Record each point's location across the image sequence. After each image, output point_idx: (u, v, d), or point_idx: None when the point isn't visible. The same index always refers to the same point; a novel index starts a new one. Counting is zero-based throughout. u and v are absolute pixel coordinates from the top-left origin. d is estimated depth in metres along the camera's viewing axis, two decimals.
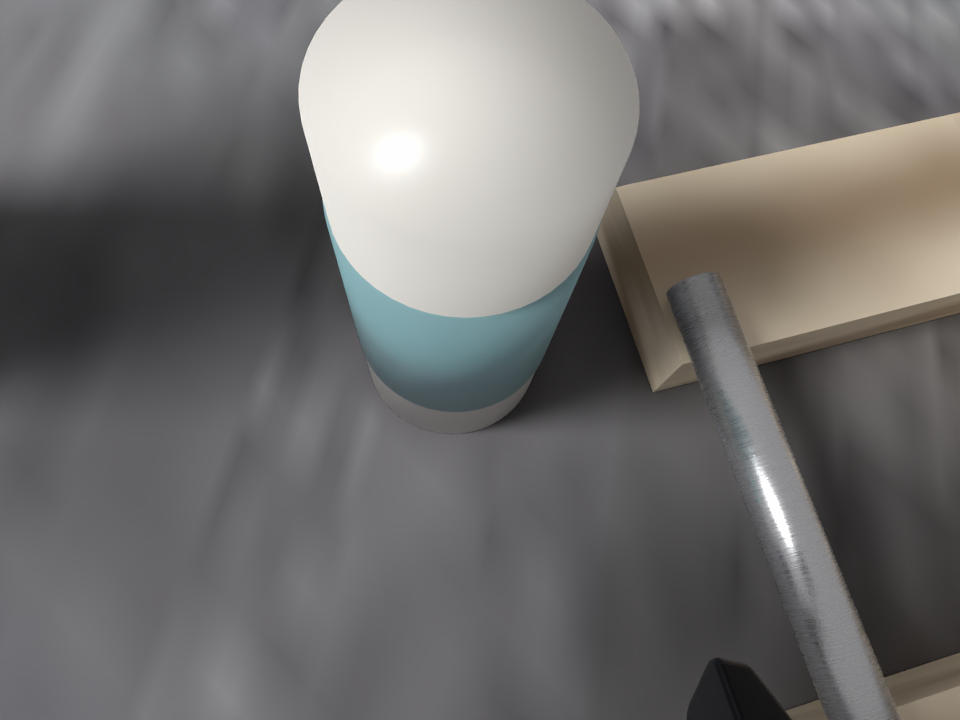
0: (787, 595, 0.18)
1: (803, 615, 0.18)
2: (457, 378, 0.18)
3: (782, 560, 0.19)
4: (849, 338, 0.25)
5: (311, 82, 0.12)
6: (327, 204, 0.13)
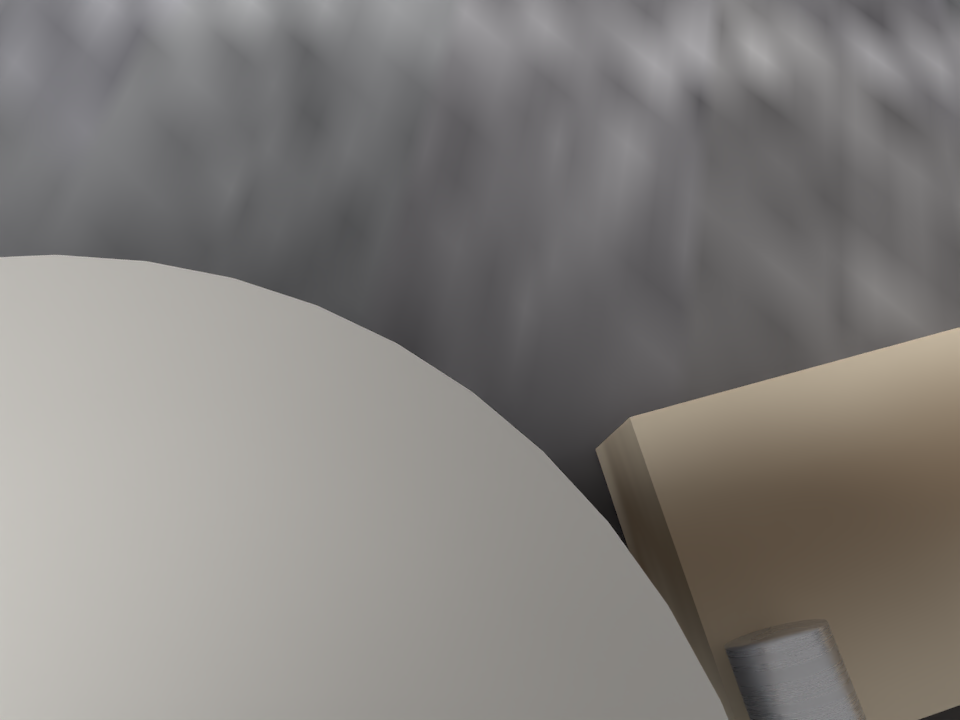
0: None
1: None
2: None
3: None
4: None
5: None
6: None
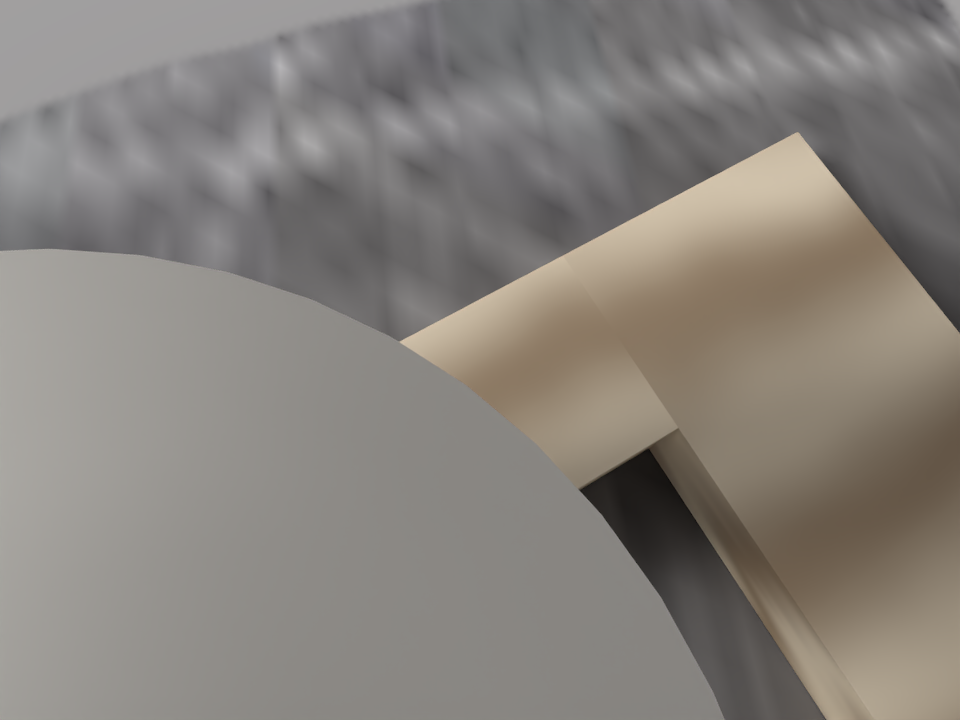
0: None
1: None
2: None
3: None
4: None
5: None
6: None
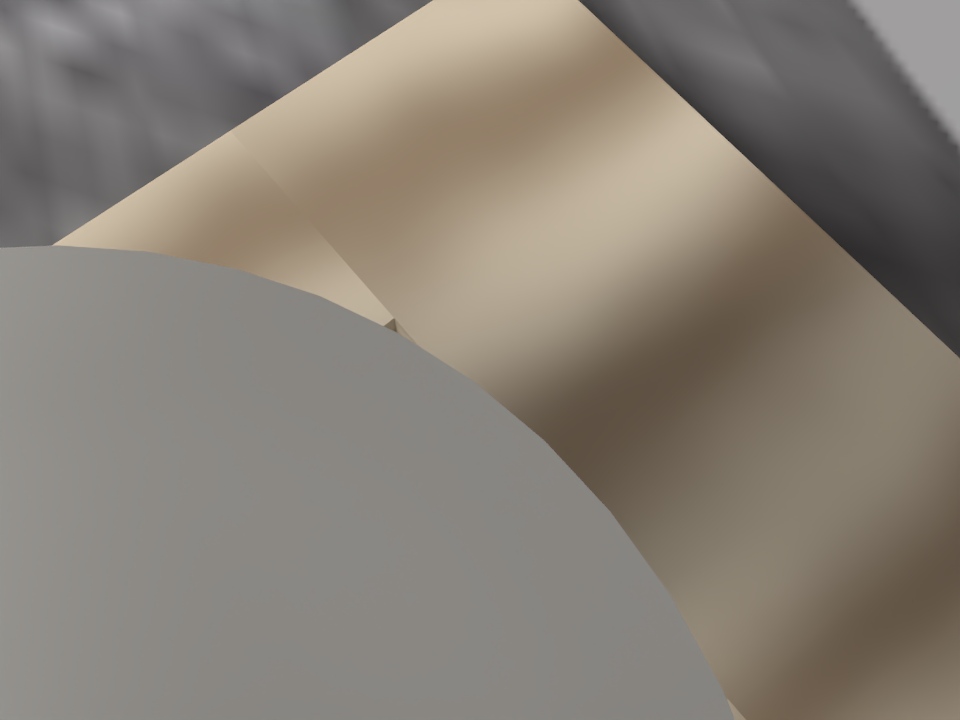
0: None
1: None
2: None
3: None
4: None
5: None
6: None
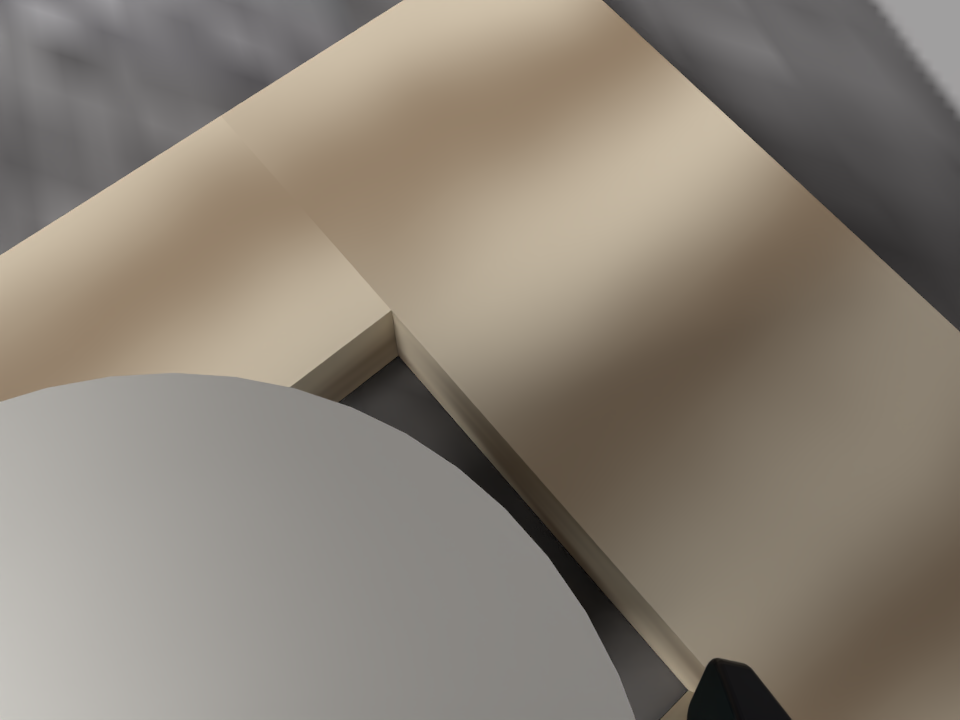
0: None
1: None
2: None
3: None
4: None
5: None
6: None
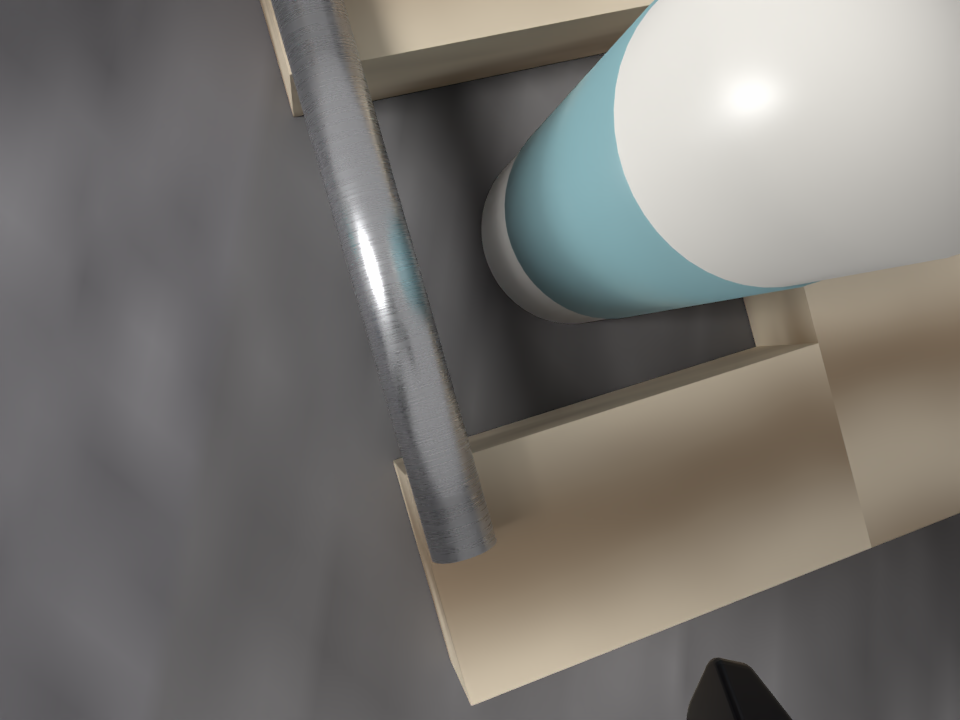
0: (370, 339, 0.17)
1: (382, 360, 0.17)
2: (614, 296, 0.16)
3: (365, 302, 0.17)
4: (528, 62, 0.22)
5: None
6: (655, 89, 0.10)
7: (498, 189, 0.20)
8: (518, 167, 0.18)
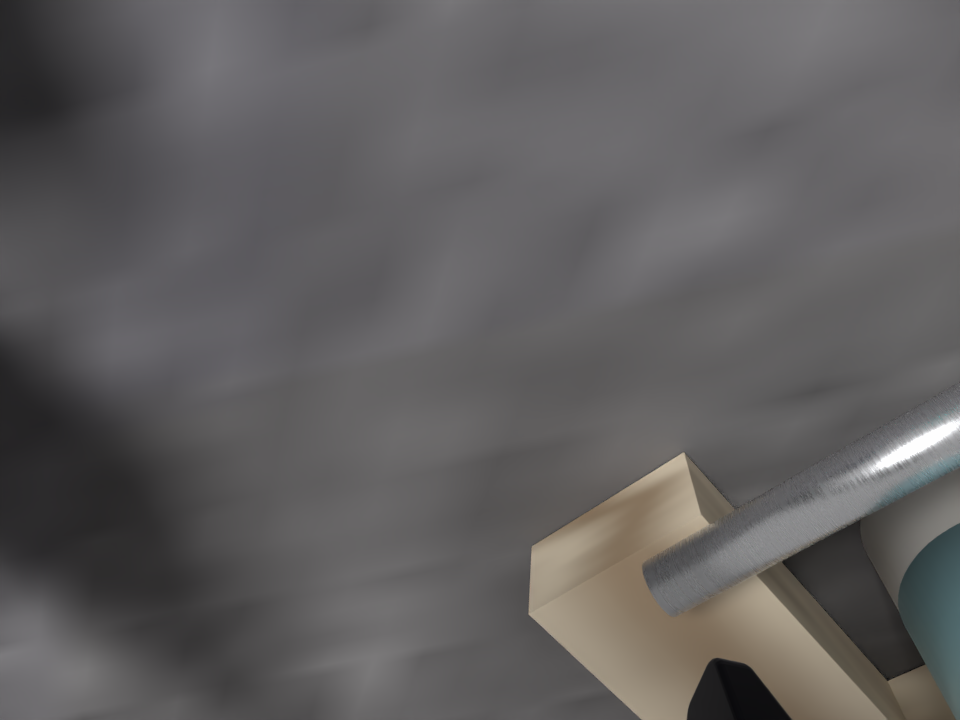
0: (829, 471, 0.18)
1: (815, 491, 0.18)
2: (956, 681, 0.17)
3: (867, 462, 0.17)
4: None
5: None
6: None
7: None
8: None
